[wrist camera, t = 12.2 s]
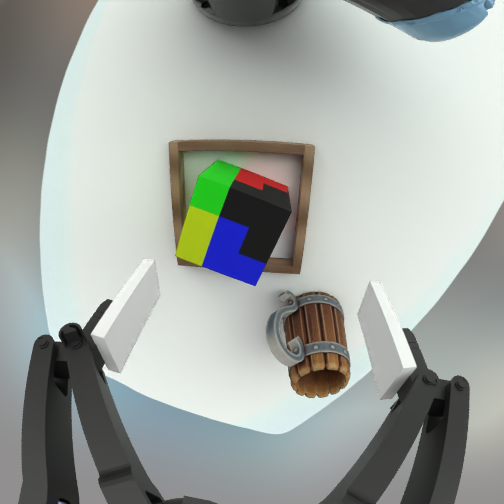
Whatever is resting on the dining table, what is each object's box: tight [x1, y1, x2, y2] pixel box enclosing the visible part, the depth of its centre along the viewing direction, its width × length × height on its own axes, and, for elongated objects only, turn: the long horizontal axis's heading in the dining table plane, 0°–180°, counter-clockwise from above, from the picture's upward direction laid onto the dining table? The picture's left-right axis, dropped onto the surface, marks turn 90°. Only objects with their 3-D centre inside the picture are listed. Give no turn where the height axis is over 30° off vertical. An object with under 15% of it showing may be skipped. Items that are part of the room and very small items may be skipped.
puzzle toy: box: [175, 160, 292, 286], centre depth 33 cm, size 10×10×10 cm
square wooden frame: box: [169, 140, 315, 274], centre depth 37 cm, size 18×18×2 cm
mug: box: [266, 290, 350, 398], centre depth 39 cm, size 16×11×15 cm
